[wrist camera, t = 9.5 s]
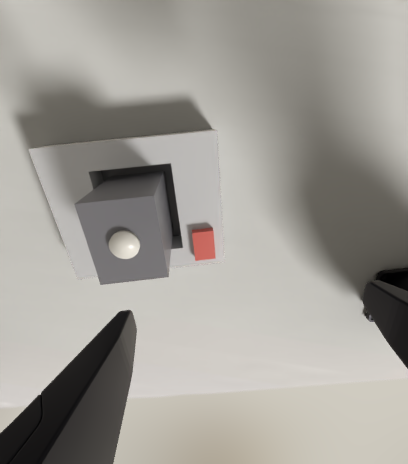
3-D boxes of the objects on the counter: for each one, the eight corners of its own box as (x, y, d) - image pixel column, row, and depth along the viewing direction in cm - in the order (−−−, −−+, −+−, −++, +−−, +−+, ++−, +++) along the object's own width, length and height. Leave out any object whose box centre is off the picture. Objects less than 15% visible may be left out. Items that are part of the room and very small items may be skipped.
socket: (212, 129, 18) (218, 130, 15) (220, 247, 22) (226, 265, 19) (48, 145, 17) (22, 150, 15) (88, 262, 22) (74, 283, 19)
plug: (164, 170, 18) (153, 197, 12) (173, 229, 21) (168, 279, 14) (111, 175, 18) (71, 205, 12) (126, 234, 20) (99, 287, 14)
